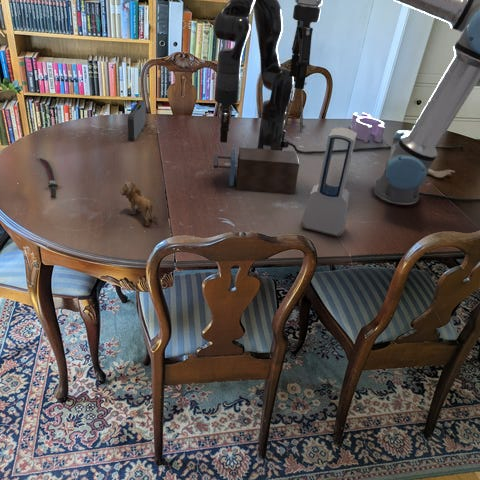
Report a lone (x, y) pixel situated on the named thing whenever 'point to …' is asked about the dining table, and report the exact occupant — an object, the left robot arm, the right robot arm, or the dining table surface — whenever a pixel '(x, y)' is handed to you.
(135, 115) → the handheld gaming console
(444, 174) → the jawbone
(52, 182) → the sword
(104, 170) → the dining table surface
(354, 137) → the electronic device
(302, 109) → the miniature windmill
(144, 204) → the lion figurine
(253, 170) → the cabinet
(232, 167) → the drawer
